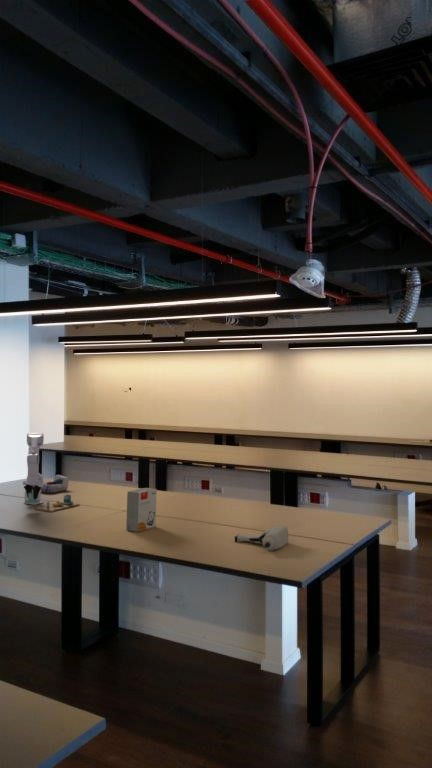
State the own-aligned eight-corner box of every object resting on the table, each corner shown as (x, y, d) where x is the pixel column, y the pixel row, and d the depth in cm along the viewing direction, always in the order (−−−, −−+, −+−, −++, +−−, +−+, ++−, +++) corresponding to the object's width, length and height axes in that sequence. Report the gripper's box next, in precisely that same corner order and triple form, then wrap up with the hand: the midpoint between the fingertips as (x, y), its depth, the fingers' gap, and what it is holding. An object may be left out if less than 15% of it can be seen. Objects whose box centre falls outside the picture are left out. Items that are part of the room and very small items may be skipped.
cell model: (71, 475, 402) (48, 479, 385) (71, 490, 402) (48, 495, 386) (58, 473, 409) (35, 477, 393) (58, 488, 409) (35, 493, 393)
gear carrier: (51, 512, 332) (51, 500, 332) (35, 509, 339) (35, 498, 339) (79, 505, 352) (79, 494, 352) (63, 503, 359) (64, 492, 359)
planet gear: (22, 502, 331) (22, 493, 331) (32, 499, 338) (33, 491, 338) (31, 503, 327) (32, 494, 327) (42, 501, 334) (42, 492, 334)
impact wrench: (222, 542, 263) (273, 535, 253) (239, 531, 284) (287, 524, 274) (225, 560, 262) (277, 554, 253) (242, 548, 283) (290, 541, 274)
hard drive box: (137, 532, 289) (137, 493, 289) (125, 530, 293) (126, 491, 293) (156, 526, 302) (156, 488, 302) (145, 524, 306) (145, 487, 306)
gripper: (18, 474, 333) (18, 497, 333) (36, 476, 325) (35, 500, 325) (28, 472, 339) (27, 496, 339) (45, 475, 331) (45, 498, 331)
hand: (32, 498), depth 332 cm, fingers closed on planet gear, 4 cm apart
